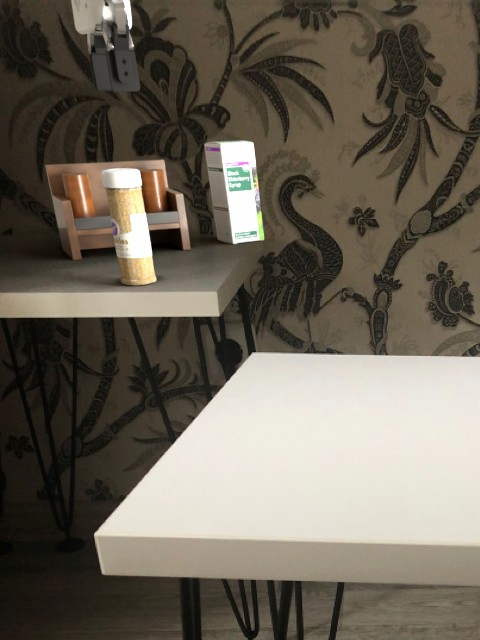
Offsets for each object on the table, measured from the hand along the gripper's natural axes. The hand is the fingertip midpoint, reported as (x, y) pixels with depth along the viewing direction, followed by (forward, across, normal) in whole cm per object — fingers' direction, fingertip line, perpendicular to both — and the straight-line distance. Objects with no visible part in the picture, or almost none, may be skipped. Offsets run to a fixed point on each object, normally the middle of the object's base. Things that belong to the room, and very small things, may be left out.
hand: (117, 91), depth 110 cm
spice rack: (+22, -26, +3) cm, 34 cm away
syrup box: (+22, -25, +21) cm, 39 cm away
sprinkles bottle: (+22, +2, -2) cm, 22 cm away
